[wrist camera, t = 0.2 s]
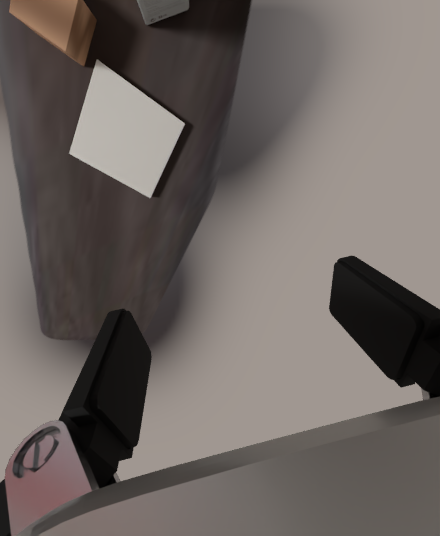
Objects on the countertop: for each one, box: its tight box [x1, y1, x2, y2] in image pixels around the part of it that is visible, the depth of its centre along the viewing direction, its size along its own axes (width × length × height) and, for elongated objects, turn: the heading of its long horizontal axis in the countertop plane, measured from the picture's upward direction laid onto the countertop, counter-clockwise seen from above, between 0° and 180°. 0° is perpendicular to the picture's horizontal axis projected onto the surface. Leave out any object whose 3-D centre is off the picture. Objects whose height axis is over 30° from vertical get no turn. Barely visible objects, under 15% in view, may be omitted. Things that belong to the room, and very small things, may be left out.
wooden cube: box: [9, 0, 97, 66], centre depth 23 cm, size 5×5×5 cm
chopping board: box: [69, 60, 185, 198], centre depth 31 cm, size 12×12×1 cm
